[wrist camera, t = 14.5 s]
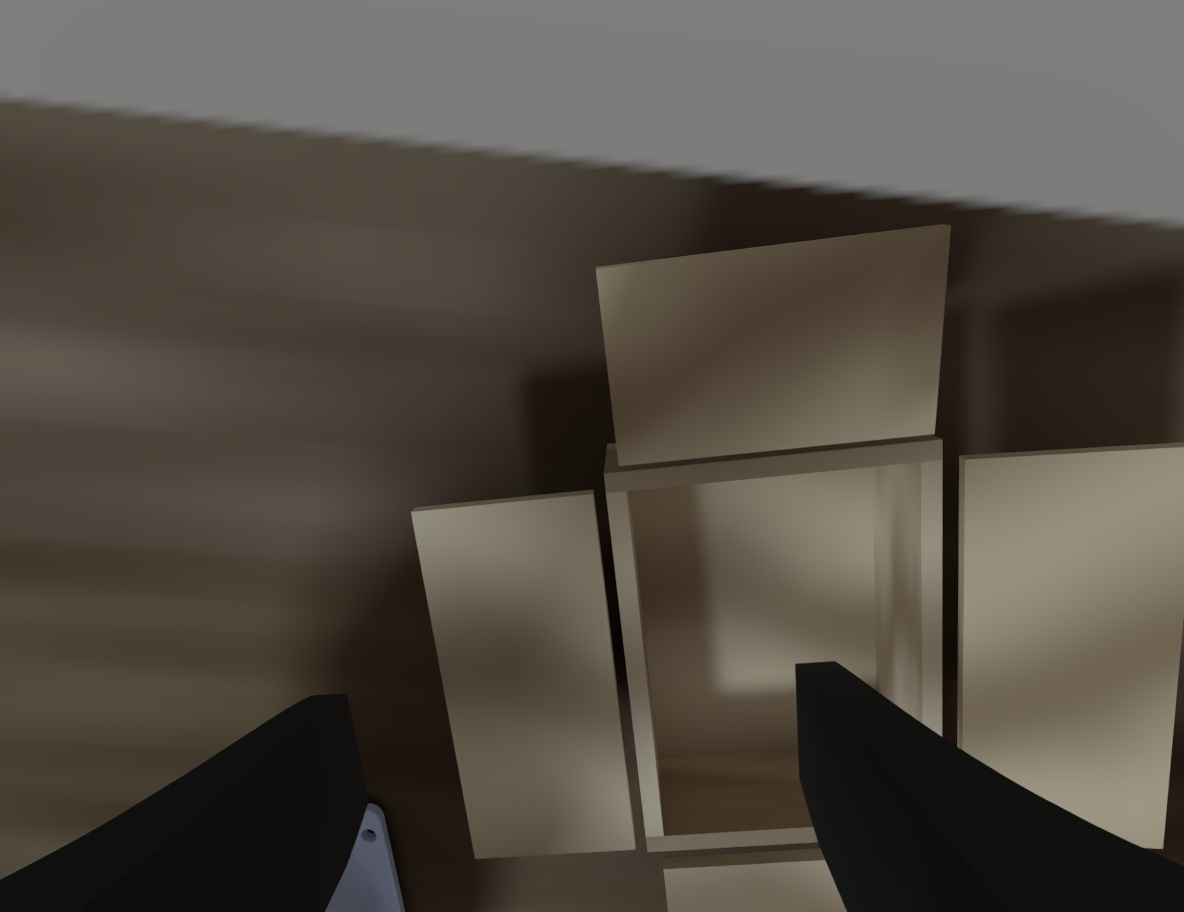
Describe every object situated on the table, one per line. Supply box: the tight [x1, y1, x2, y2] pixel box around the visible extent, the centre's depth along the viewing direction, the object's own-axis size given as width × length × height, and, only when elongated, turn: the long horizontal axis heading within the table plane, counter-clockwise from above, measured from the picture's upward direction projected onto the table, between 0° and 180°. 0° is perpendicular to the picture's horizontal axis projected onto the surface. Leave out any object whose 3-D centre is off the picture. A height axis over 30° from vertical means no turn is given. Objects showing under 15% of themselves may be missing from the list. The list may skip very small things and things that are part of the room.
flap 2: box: [957, 442, 1184, 849], centre depth 16 cm, size 10×4×1 cm, turn 7°
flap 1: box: [596, 224, 951, 466], centre depth 14 cm, size 4×7×1 cm, turn 97°
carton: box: [411, 434, 943, 912], centre depth 19 cm, size 16×13×4 cm
